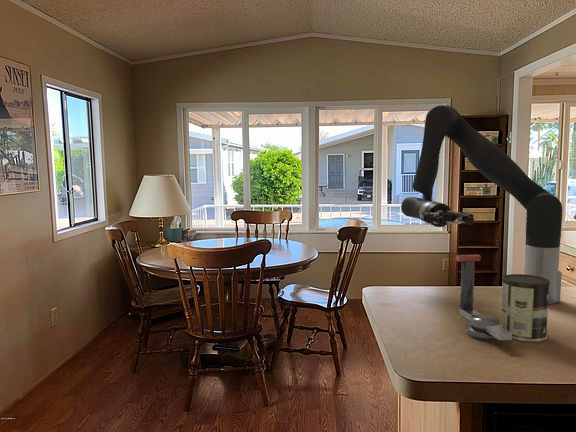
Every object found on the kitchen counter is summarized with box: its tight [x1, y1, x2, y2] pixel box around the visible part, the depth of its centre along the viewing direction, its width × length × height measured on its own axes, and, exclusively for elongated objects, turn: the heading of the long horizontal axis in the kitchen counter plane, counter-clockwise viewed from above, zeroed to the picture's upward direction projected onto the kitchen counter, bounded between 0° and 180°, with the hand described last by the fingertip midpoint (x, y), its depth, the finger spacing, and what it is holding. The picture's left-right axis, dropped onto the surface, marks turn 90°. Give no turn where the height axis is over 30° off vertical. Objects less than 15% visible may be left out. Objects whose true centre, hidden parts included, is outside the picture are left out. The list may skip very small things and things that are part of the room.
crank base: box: [466, 323, 499, 342], centre depth 110 cm, size 8×8×2 cm
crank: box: [455, 254, 513, 341], centre depth 110 cm, size 20×6×16 cm, turn 6°
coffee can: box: [500, 273, 550, 343], centre depth 109 cm, size 10×10×14 cm
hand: (457, 221), depth 126 cm, fingers open, 8 cm apart
